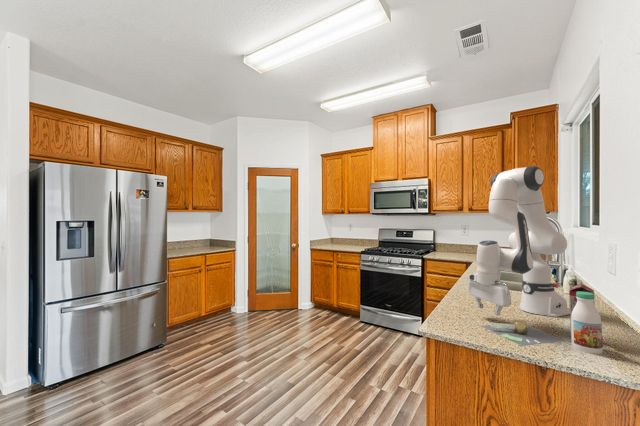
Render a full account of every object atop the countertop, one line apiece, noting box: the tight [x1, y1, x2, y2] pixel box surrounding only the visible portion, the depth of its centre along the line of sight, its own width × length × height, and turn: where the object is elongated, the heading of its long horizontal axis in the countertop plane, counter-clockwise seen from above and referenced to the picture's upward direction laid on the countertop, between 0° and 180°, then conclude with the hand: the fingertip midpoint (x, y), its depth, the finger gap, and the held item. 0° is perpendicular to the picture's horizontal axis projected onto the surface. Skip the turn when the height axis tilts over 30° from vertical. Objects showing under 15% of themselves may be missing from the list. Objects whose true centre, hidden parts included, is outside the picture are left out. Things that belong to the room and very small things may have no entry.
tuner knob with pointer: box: [489, 319, 528, 334], centre depth 112 cm, size 12×4×4 cm, turn 71°
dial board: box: [481, 322, 566, 347], centre depth 111 cm, size 19×19×1 cm
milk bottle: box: [570, 291, 604, 355], centre depth 97 cm, size 8×8×20 cm
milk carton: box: [569, 280, 596, 330], centre depth 106 cm, size 7×7×22 cm
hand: (488, 311), depth 123 cm, fingers open, 8 cm apart
